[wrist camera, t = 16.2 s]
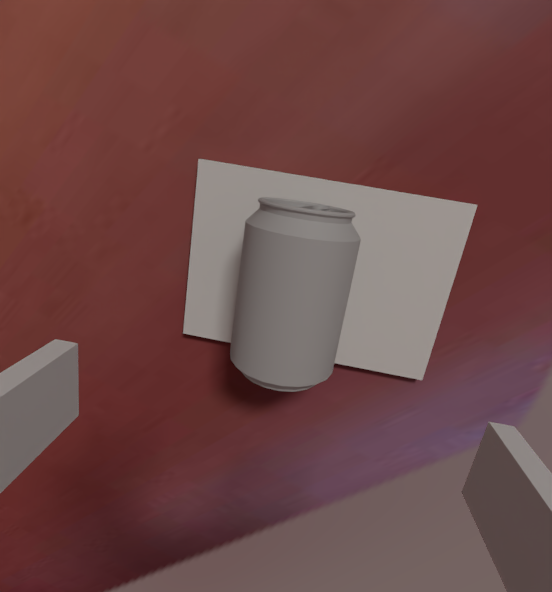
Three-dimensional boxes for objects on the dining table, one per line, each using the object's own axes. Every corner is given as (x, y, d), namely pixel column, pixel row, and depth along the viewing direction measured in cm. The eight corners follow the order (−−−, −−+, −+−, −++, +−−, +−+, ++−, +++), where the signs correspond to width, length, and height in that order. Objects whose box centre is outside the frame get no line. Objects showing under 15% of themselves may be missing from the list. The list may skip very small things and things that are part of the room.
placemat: (186, 329, 33) (183, 333, 32) (201, 159, 28) (198, 158, 28) (419, 375, 32) (422, 380, 31) (473, 204, 27) (477, 205, 26)
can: (289, 340, 33) (313, 198, 29) (352, 384, 27) (392, 215, 23) (210, 354, 28) (227, 189, 25) (265, 410, 23) (297, 207, 19)
